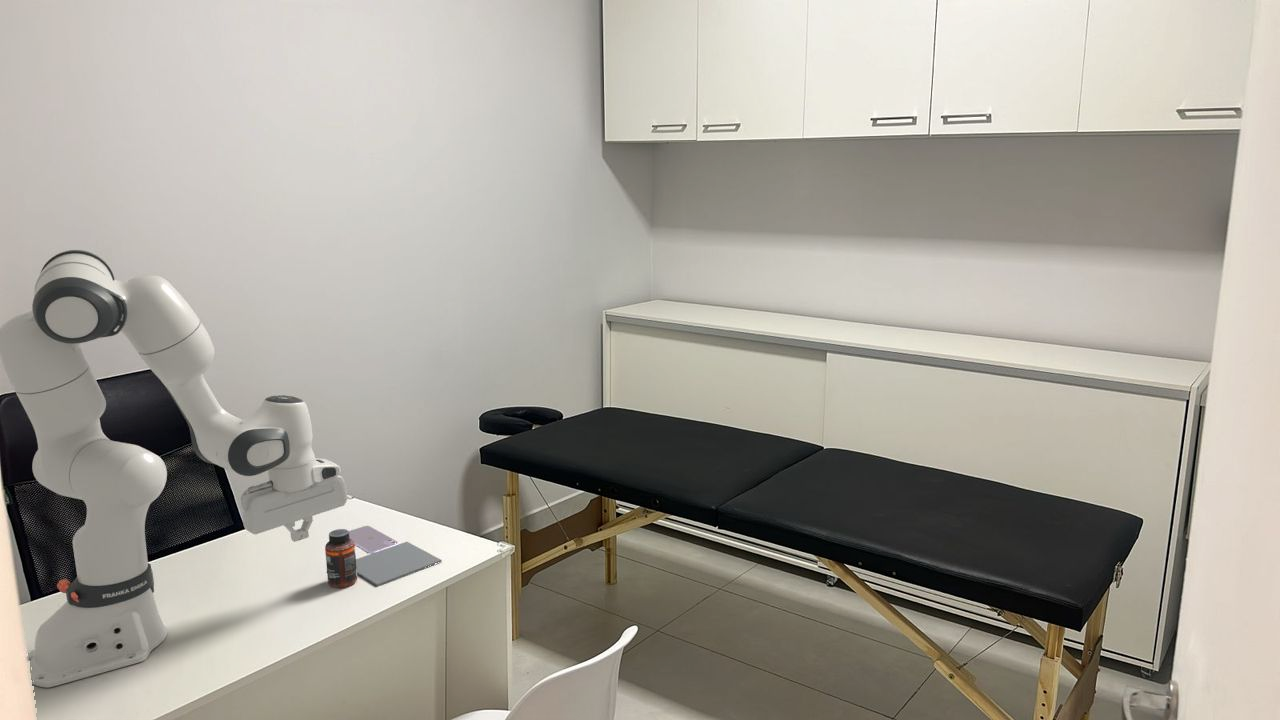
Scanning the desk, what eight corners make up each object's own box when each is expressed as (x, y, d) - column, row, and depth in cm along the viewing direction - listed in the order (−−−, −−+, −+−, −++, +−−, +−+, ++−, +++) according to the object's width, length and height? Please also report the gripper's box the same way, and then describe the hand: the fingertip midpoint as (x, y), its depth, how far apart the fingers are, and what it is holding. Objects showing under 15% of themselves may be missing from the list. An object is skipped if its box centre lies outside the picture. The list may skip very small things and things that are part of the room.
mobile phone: (368, 523, 215) (401, 542, 205) (368, 527, 215) (401, 546, 205) (338, 533, 209) (371, 552, 199) (339, 536, 210) (371, 556, 199)
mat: (377, 586, 185) (377, 584, 184) (343, 565, 194) (343, 563, 194) (441, 562, 196) (441, 560, 196) (407, 543, 205) (407, 541, 205)
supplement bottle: (362, 576, 189) (358, 527, 186) (350, 589, 183) (346, 539, 181) (335, 575, 190) (331, 526, 187) (323, 588, 184) (318, 537, 181)
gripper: (247, 494, 165) (255, 561, 168) (347, 464, 179) (353, 527, 183) (233, 485, 169) (241, 551, 172) (332, 457, 183) (338, 518, 187)
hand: (300, 538), depth 178 cm, fingers closed
